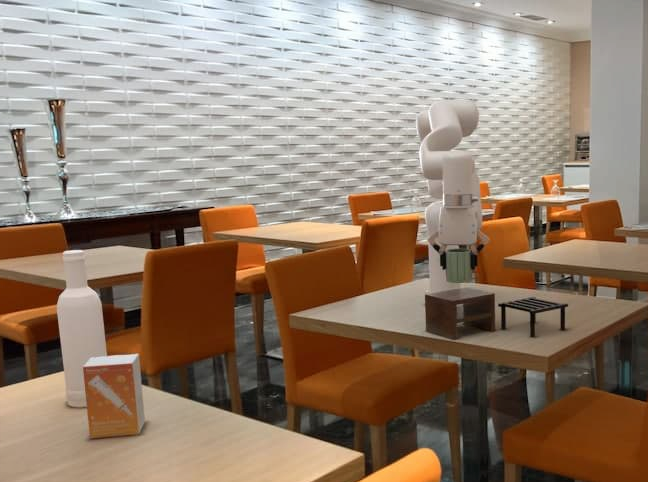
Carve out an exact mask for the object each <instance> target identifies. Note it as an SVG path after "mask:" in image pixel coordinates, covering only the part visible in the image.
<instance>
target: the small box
mask: <svg viewBox="0 0 648 482" xmlns="http://www.w3.org/2000/svg"><path fill="white" fill-rule="evenodd" d="M140 362H141V361H140V353H131V354H115V355H114V354H113V355H107V356H105V357H91V358H90V359H89V360H88V361H87V363H86V364H85V365H84V366H83V373H84V384H85V394H86V404H87V407H86V414H87V421H88V432H89V438H90V439H97V438H98V439H99V438H109V437H121V436H123V437H124V436H133V435H134V436H138V435H140V433H141V431H142V429H143V426H144V425H145V423H146V417H145V416H146V415H145V405H144V396H143V395H144V394H143V385H142V374H141V373H142V372H141V363H140Z"/></svg>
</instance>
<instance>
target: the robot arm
mask: <svg viewBox="0 0 648 482" xmlns="http://www.w3.org/2000/svg"><path fill="white" fill-rule="evenodd" d="M479 119H480V112H479V108H478V105H477V104H476V102H475V101H473V100H471V99H439V100H437V101H434V102H433V103H432V104H430V106H429V109H425V110H422V111H420V112H419V113H418V114H417V115H416V118H415V128H416V134H417V137H418V141H419V144H420V147H419V155H418V156H419V164H420V170H421V173H422V177H423V178H425V179H426V180H427V181H426V182H427V190H428V194H429V196H430V197H431V198H432V199H435V200H442V201H440V202H434V203H430V204H429V205H427V207H426V208H425V209H424V222H425V228H426V234H427V242H428V243H427V244H428V272H429V273H428V274H429V288H428V289H426V290H425V291H424V293H425V294H430V293H436V292H442V291H448V290H454V289H460V288H461V283H450V282H447V281H446V256H445V251H446V250H449V249H460V246H469V249H470V250H472V255H471V263H472V271H475V270H476V267H478V265H479V262H478V260H479V259H478V257H479V255H478V254H479V253H480V252H481V251H482V250H483V249H484V248H485V247H486V245H487V244H488V243H489V242H490V238H489V237H488V236H487V235H486V234H485V233H483V232H482V231H481V229H482V227H483V207H482V195H481V183H480V178H479V174H478V172H477V170H476V169H475V168H476V161H475V158H474V157H473V155H472V153H471V152H469V151H467V150H453V149H455V148H456V147H458V146H459V145H460V143H461V142H462V139H463V138H466V137H470V136H471V135H472V134H473V133H474V132H475V130H476V129H477V127H478V125H479V121H480V120H479ZM479 239H481V240H482V241H481V243H480V244H479V245H478V246H477V242H478V241H479ZM425 294H424V295H425ZM460 306H463V304H459V305H457V307H460Z"/></svg>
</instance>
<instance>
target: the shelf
mask: <svg viewBox="0 0 648 482" xmlns="http://www.w3.org/2000/svg"><path fill="white" fill-rule="evenodd" d="M459 304H463V306H459V307H457V305H459ZM424 309H425V310H424V311H425V332H426V333H427V332H428V333H430V334H434V335H437V336H441V337H444V338H447V339H450V340H457V339H458V324H461V323H463V324H464V325H466V326H467V325H468V326H471V327H474V328H478V329H482V330H486V331H490V332H495V331H496V293H495V292H489V291H484V290H479V289H475V288H471V287H460V289H454V290H448V291H442V292H436V293H430V294H424Z"/></svg>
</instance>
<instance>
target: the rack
mask: <svg viewBox="0 0 648 482" xmlns="http://www.w3.org/2000/svg"><path fill="white" fill-rule="evenodd" d="M497 307H498V308H500V324H501V325H500V326H501V327H500V330H501V331H506V330H507V309H506V308H509V309H513V310H518V311H522V312H526V313H529V337H530V338H535V337H536V329H535V328H536V322H537V320H536V317H537V314H541V313H545V312H550V311H554V310H558V309H560V315H559V317H560V321H559V322H560V323H559V324H560V325H559V328H560V331H566V308H568V307H569V303H568V302H567V303H566V302H564V303H561V302H556V301H550V300H546V299H540V298H537V297H536V296H531V297H525V298H521V299H515V300H510V301H504V302H499V303H497Z"/></svg>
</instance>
